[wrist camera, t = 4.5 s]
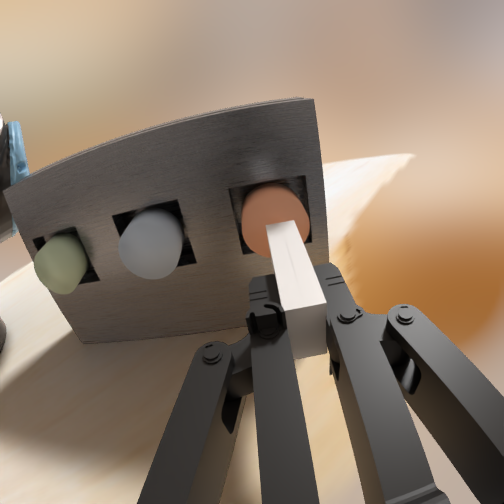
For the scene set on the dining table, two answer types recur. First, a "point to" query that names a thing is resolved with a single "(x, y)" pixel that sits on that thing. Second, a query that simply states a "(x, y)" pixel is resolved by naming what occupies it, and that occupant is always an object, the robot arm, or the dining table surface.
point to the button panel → (180, 205)
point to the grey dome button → (152, 243)
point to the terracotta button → (270, 214)
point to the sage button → (61, 263)
